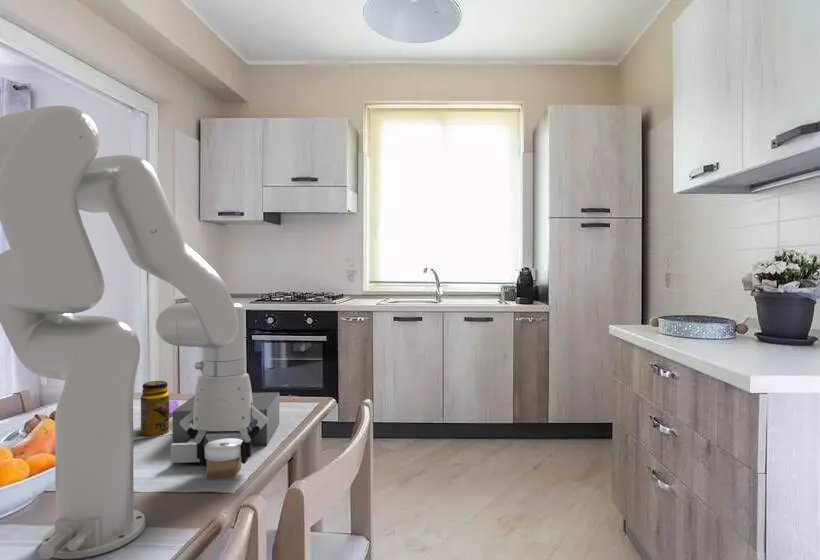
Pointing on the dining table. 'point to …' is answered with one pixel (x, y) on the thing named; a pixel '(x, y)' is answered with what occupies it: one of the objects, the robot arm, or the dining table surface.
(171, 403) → the sponges
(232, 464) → the walnut block
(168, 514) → the dining table surface
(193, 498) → the dining table surface
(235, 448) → the disc
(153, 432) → the condiment
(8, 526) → the dining table surface
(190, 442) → the tray
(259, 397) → the player
